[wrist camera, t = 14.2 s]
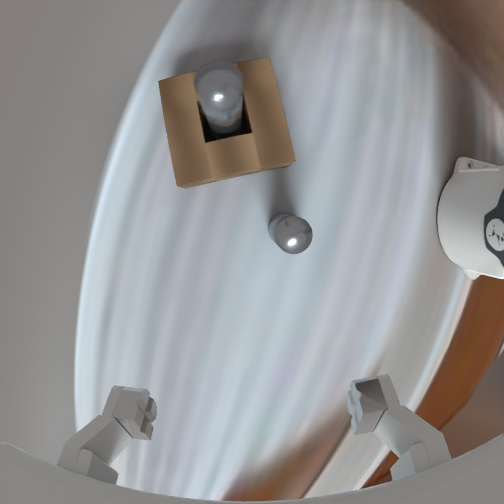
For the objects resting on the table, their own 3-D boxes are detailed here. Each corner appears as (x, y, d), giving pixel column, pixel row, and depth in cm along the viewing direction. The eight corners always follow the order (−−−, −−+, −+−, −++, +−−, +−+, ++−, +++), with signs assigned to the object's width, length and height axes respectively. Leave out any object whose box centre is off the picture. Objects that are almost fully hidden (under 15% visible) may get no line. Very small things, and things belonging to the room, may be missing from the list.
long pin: (238, 111, 32) (237, 56, 18) (244, 138, 32) (247, 96, 18) (209, 117, 32) (190, 66, 18) (214, 144, 32) (198, 107, 18)
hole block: (265, 75, 31) (269, 57, 26) (287, 166, 33) (295, 160, 28) (168, 96, 31) (158, 81, 26) (186, 188, 33) (176, 186, 28)
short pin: (294, 211, 34) (308, 213, 27) (300, 240, 34) (315, 249, 27) (265, 217, 34) (272, 220, 27) (271, 246, 34) (279, 257, 27)
